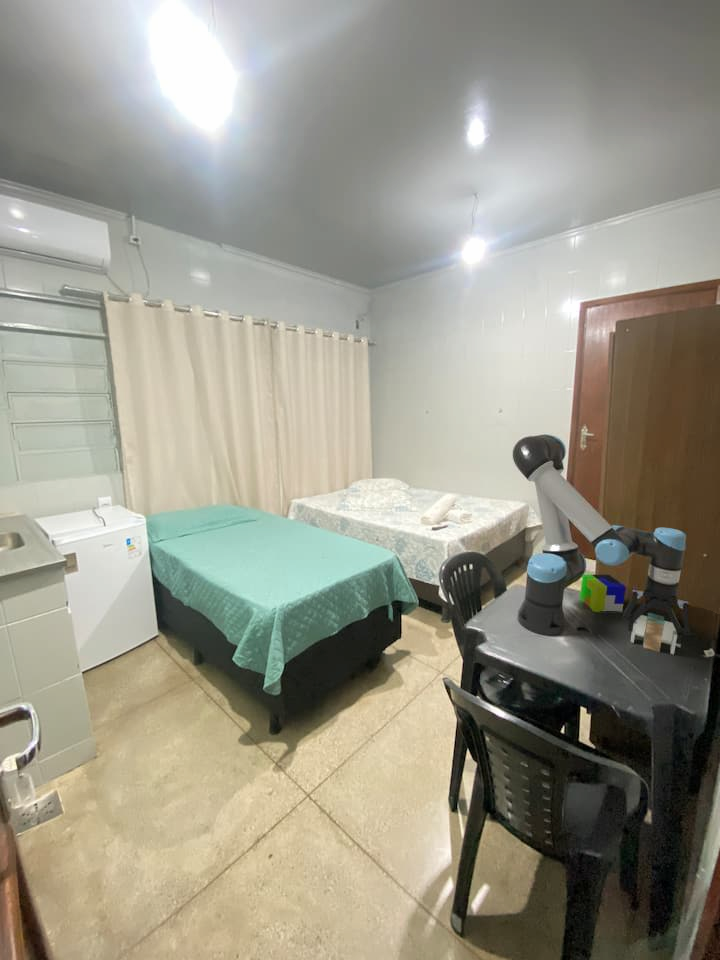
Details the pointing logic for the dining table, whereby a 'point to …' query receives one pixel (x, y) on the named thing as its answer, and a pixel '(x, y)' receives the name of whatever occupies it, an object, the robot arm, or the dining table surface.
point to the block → (653, 632)
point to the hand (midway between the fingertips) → (651, 646)
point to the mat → (666, 631)
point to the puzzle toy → (602, 593)
